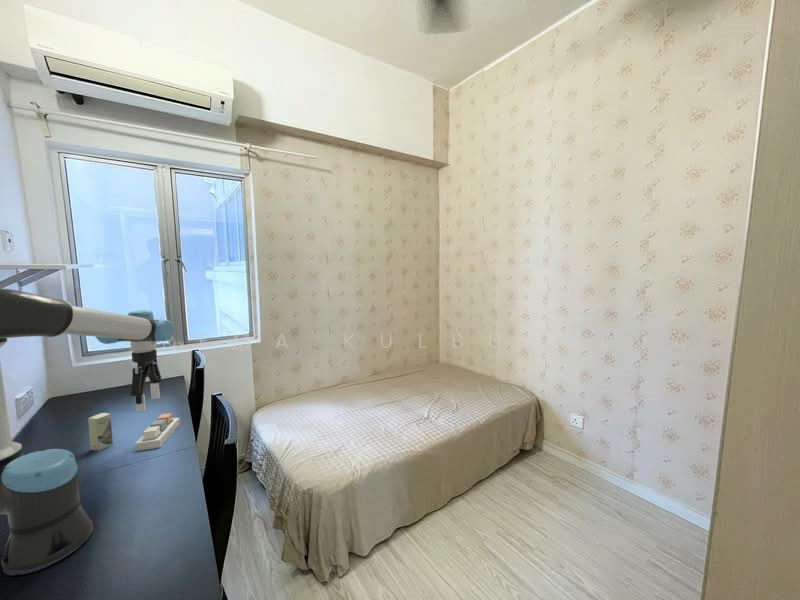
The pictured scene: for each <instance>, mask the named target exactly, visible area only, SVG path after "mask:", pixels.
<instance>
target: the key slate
mask: <svg viewBox="0 0 800 600" xmlns="http://www.w3.org/2000/svg"><path fill="white" fill-rule="evenodd" d="M155 426H160V431H163V430H164V429H165V428H166V427H167V425H166V419H164V420H157V419H156V420H154V421H153V422H152V423H151V424H150V426H149V427H155Z"/></svg>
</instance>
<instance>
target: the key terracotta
mask: <svg viewBox="0 0 800 600" xmlns="http://www.w3.org/2000/svg"><path fill="white" fill-rule="evenodd" d="M172 418H173V413H172V412H171V413H170V412H169V413H162V414H159V416H158V417H156V420H164V419H166V425H167V424H169V423H170V422H171V421H172Z"/></svg>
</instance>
